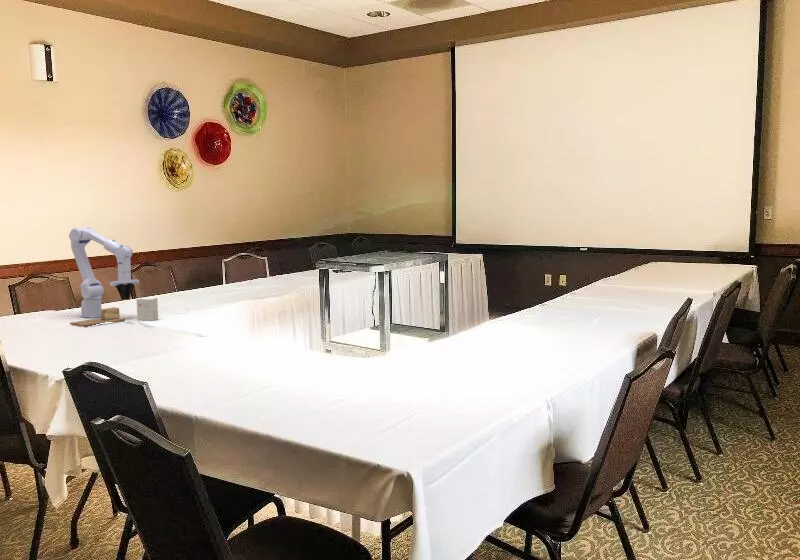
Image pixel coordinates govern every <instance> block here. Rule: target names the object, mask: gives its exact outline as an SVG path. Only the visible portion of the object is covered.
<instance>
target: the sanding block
mask: <svg viewBox="0 0 800 560" xmlns="http://www.w3.org/2000/svg"><path fill="white" fill-rule="evenodd" d="M100 318H101V320H112V319H119V318H120V307H116V306H115V307H106V308H102V309H101V317H100ZM120 319H121V318H120Z"/></svg>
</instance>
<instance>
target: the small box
mask: <svg viewBox="0 0 800 560" xmlns="http://www.w3.org/2000/svg"><path fill="white" fill-rule="evenodd" d="M136 317H137V319H136V320H137V321H144V322H145V321H147V322H151V321H156V320H158V319H159V305H158V297H138V298H136Z"/></svg>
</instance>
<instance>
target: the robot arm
mask: <svg viewBox="0 0 800 560" xmlns="http://www.w3.org/2000/svg"><path fill="white" fill-rule="evenodd" d="M68 237H69V239H70V248H71V251H72V254H73V257H74V259H75V262H76V265H77V268H78V271H79V273H80V276H81V279H82V282H81V284H80V294H81V297H82V298H83V299H82V301H81V302H80V307H81V308H80V310H81V311H80V312H81V315H79V316H80V317H82V318H89V319H96V318H101V309H103V308H102V299H103V296H104V294H105V287H104V286H103V285H102V283H101V282H100V280H99V279H97V278H96V277H95V274H94V271H93V269H92V265H91V263H90V260H89V257H88V255H87V251H86V248H85V247H86V246H87V245H88V244H89V243H90V242H91V241H93V242H95V243H98V244H99V245H101V246H103V248H104V250H106V251H107V252H110V253H111V254H113V255H114V256H115V258H116V262H117V280H115V281H110V282H109V285H110V287H115V288H116V290H117V292H118V294H119V296H120V300H122V301H125V300H130V298H131V294H132V291H133V289H134V287H135V285H136V284H140V280H139V279H132V271H131V270H132V269H131V258H132V256H133V254H134V251H133V249H132V247H130V246H127V245H126V246H125V245H124V244H123V243H120V242H118V241H116V239H115V238H110V239H107V238H106V237H105V236H104V235H101V234H100V233H98V232H96V230H95V229H92V228H91V227H80V228H79V227H73V228H72V229H71V230H70V232H69V234H68Z"/></svg>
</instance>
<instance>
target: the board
mask: <svg viewBox="0 0 800 560" xmlns="http://www.w3.org/2000/svg"><path fill="white" fill-rule="evenodd" d="M125 320H126V319H125V318H119V319H112V320H101V317H97V318H90V319H85V320H79V321H72V322H69V325H70V324H71V325H70V326H74V325H78V326H77V327H81V326H84V327H83V328H89V327H88V326H91V327H93V326H92V325H96V324H100V323H105V322H117V323H122V322H125Z"/></svg>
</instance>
